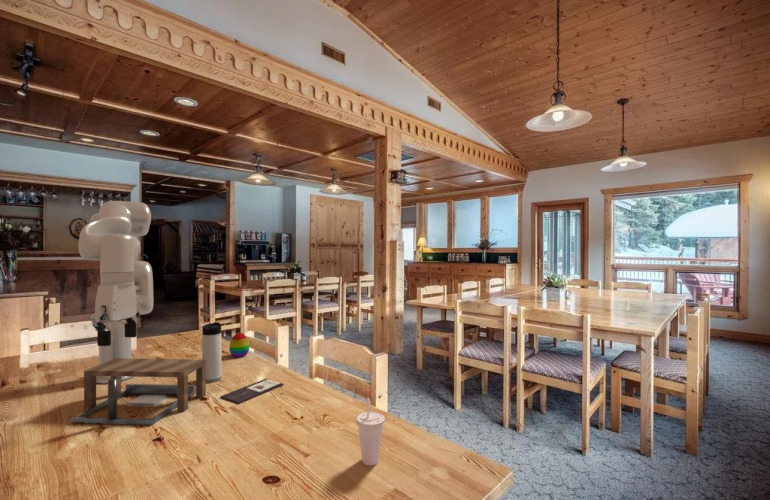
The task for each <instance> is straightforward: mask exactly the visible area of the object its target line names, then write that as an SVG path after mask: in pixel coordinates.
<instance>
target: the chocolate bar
mask: <svg viewBox="0 0 770 500" xmlns="http://www.w3.org/2000/svg"><path fill="white" fill-rule="evenodd" d="M283 386H284V383H281V382H278V381H274V380H271V379H268V378H264V379H261V380H258V381H256V382H254V383H251V384H249V385H245V386H243V387H241V388H238V389H236V390H233V391H230V392H228V393H225V394H222V395H220V396H219V397H220V399H222V400H225V401H229V402H231V403H234V404H237V405H241V404H243V403H245V402H247V401H250V400H252V399H254V398H257V397H259V396H261V395H265V394H267V393H269V392H271V391H273V389H274V390H276V389H278V388H281V387H283Z"/></svg>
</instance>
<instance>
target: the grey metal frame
mask: <svg viewBox="0 0 770 500" xmlns="http://www.w3.org/2000/svg"><path fill="white" fill-rule="evenodd" d="M132 394H133V395H176V396H177V384H153V383H147V384H146V383H126V384H125V390H123V391H121V393H119V394H117V379H116V378H113V379H109V380H108V383H107V399H106V400H104V401H101V402H100V403H98V404H96V406H94V407H92V408H90V409H88V410H85V411H83V412H81V413H79V414H77V415H76V416H73V417H71V422H88V423H87V424H97V423H100V424H101V425H102V424H104V425H105V424H107V425H140V426H141V425H144V426H145V425H146V426H147V425H154V424H155V423H156V422H158V421H159V420H161V419H162V418H164V416H166V415H168V414H169V413H170V412H172V411H173V410H175V409H176V408H177V400H176V401H175V402H173V403H172V404H170V405H169V406H167V407H166V408H164V409H163V410H162V411H160V412H159V413H157V414H156V415H154V416H153V417H152V418H136V417H135V418H132V417H130V418H126V417H125V418H124V417H123V418H122V417H118V400H119V399H121V398H123V397H124V396H126V395H132ZM194 395H196V384H188V399H190V398H191V397H192V396H194ZM106 406H107V417H91V416H90V415H92V414H93V413H95V412H97V411H99V410H101V409H102V408H105V407H106ZM85 416H86V417H85ZM88 416H90V417H88Z"/></svg>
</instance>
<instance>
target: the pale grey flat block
mask: <svg viewBox="0 0 770 500" xmlns="http://www.w3.org/2000/svg"><path fill="white" fill-rule="evenodd" d="M167 396H168V394H140V395H139V396H138V397H136V398H134V399H132V400H131V401H129V402H128V403H127V407H145V408H146V407H149V408H151V407H153V408H154V407H156V406H157V405H159V404H160V403H162V402H163V401H165V400H166V399H167V398H168V397H167Z"/></svg>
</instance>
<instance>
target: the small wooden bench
mask: <svg viewBox="0 0 770 500" xmlns="http://www.w3.org/2000/svg"><path fill="white" fill-rule="evenodd" d="M93 366H94V365H93ZM194 372H195V383H196V384H195V396H196V397H195V398H197V399H199V398H200V399H201V398H204V397H205V396H206V394H207V393H206V392H207V390H206V387H207V386H206V384H207V382H206V360H202V359H196V358H195V359H193V358H192V359H190V358H189V359H188V358H187V359H185V358H183V359H182V358H132V357H131V358H115V359H112V360H109V361H107V362H104V363H102V364H99V363H98V364H97V366H94V367H90V368H87V369H84V370H83V410H84V409H90V408H92V407H94V406H96V405H97V383H96V376H111V379H113V378H116V379H117V394H119V393H121V392H122V381H121V376H127V377H132V378H134V377H136V378H137V377H140V378H177V379H176V385H177V395H176V396H177V397H176V398H177V400H176V401H177V407H176V408H177V412H180V413H184V412H186V411H187V410H188V409H189V398H188V385H189V375H190V374H192V373H194Z"/></svg>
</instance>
